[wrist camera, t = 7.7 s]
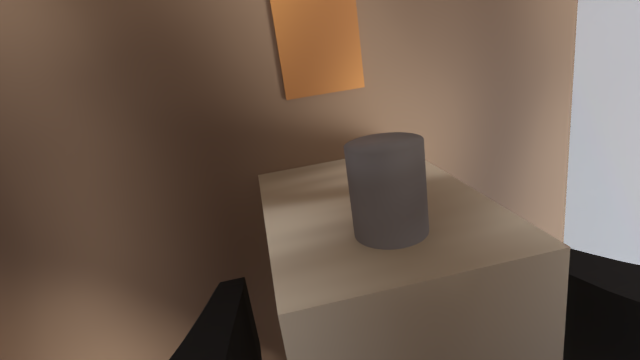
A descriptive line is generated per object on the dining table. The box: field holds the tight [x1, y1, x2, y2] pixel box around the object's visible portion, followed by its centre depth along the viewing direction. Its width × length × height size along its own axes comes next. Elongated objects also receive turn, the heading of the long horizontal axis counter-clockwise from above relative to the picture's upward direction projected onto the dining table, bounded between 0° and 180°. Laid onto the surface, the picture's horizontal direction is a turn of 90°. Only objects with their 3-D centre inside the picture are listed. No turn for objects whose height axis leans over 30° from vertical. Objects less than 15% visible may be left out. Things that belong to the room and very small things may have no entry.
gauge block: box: [258, 132, 570, 360], centre depth 9 cm, size 4×9×6 cm, turn 8°
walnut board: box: [0, 0, 578, 360], centre depth 12 cm, size 22×16×3 cm
